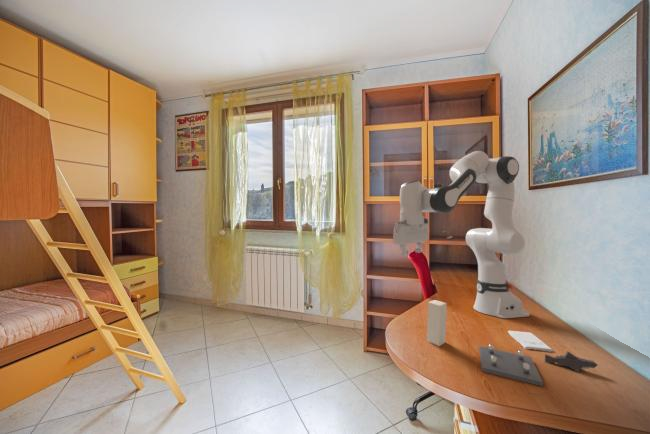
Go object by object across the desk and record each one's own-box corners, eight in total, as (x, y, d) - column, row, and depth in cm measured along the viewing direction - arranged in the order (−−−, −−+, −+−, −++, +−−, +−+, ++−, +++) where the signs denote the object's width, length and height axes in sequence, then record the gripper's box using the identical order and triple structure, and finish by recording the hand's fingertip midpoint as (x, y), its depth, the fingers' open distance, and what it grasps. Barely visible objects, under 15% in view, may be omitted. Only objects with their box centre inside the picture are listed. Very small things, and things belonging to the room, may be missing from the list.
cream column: (433, 337, 98) (434, 299, 98) (445, 342, 95) (446, 303, 95) (426, 341, 96) (428, 302, 95) (439, 346, 92) (440, 305, 92)
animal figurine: (546, 369, 82) (543, 352, 82) (545, 362, 86) (541, 346, 86) (601, 376, 75) (597, 357, 76) (596, 368, 79) (593, 351, 79)
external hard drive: (531, 336, 102) (552, 353, 90) (507, 334, 103) (525, 350, 91) (531, 332, 102) (552, 348, 90) (507, 330, 103) (525, 346, 91)
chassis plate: (479, 349, 90) (479, 338, 90) (530, 360, 84) (531, 349, 84) (482, 371, 78) (482, 358, 78) (542, 386, 71) (543, 372, 71)
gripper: (402, 221, 101) (403, 257, 101) (431, 219, 114) (431, 252, 114) (388, 221, 106) (389, 255, 106) (417, 219, 119) (418, 250, 119)
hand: (411, 253), depth 110 cm, fingers open, 8 cm apart
